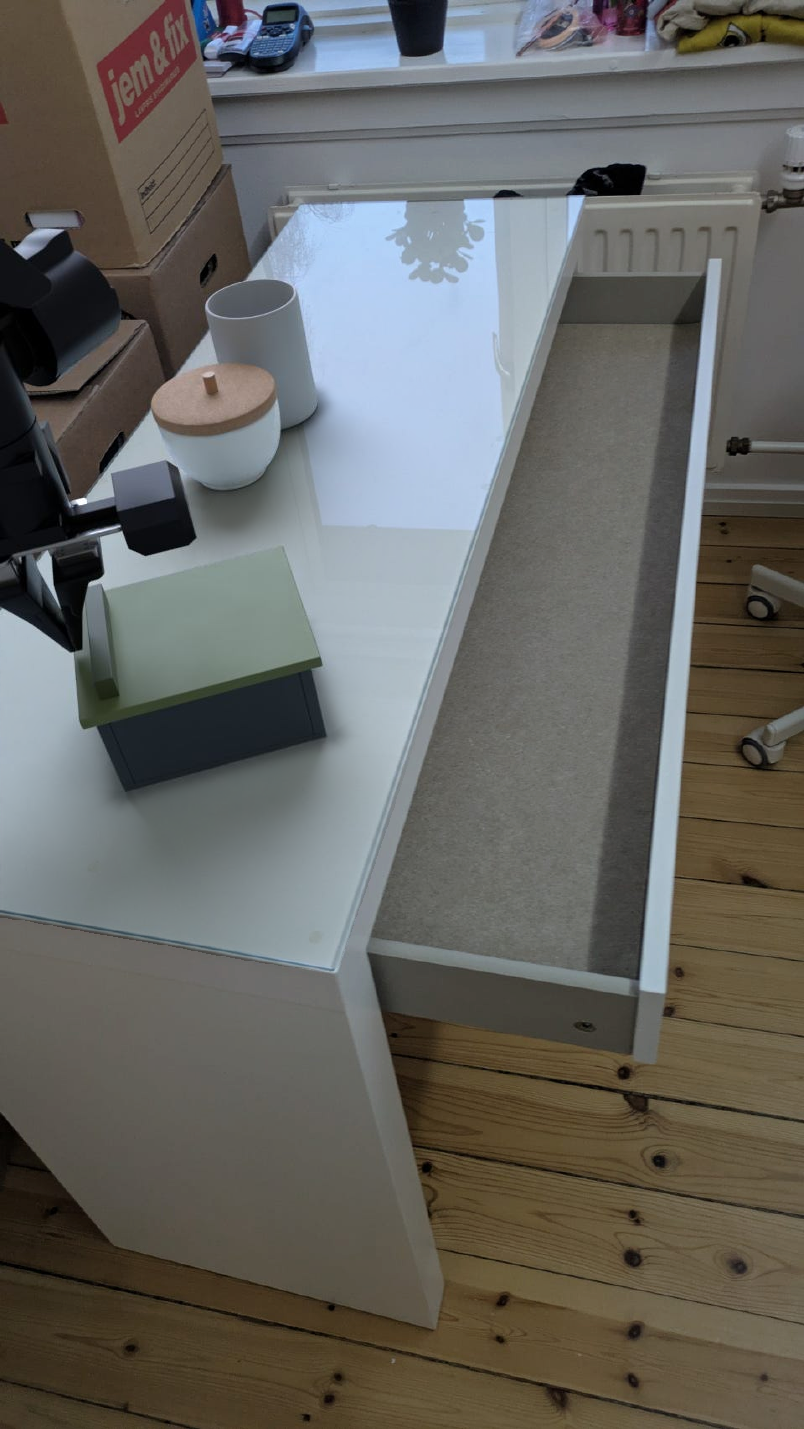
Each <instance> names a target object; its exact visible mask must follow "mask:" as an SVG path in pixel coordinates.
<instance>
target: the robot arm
mask: <svg viewBox="0 0 804 1429" xmlns="http://www.w3.org/2000/svg"><path fill="white" fill-rule="evenodd" d="M121 322H122V309H121V304H120V299H119V295H118V293H117V290H116V289H115V288H114V287H113V286H111V285H110V283H109V281H108V279H107V278H106V276H105V275H104V274H103V272H102V271H101V270H100V269H99V267H97V265H96V264H95V263H93V262H92V260H90V259H89V258H88V257H87V256H85V255H83V254H82V253H80V252H79V251H77V250H75V248H74V246H73V242H72V240H71V237H70V233H69V231H68V230H66V229H61V228H48V227H47V228H45V227H37V228H35V229H34V230H33V231H32V232H30V233H28V234H26V236H25V237H24V238H23V239H22V240H21V242H20V243H19V244H18V245H17V246H16V247H14V248H13V247H11V245H9V244H8V243H7V242H5V240H3V239H2V238H1V237H0V608H1V609H3V610H5V611H6V612H9V613H10V614H12V615H14V616H16V617H18V618H20V619H21V620H23V621H25V622H26V623H28V624H30V625H32V626H33V627H35V628H36V629H37V630H38V631H40V632H41V633H43V634H44V635H45V636H47V637H48V638H49V639H51V640H52V641H54V642H55V643H56V644H57V645H59V646H60V647H62V648H63V649H64V650H65V651H67V652H68V653H70V654H72V653H74V652H76V651H80V650H83V607H84V602H85V598H86V593H87V589H88V587H89V584H90V583H91V582H94V581H98V580H100V579H102V578H103V577H104V576H105V565H104V557H103V556H104V555H103V549H102V548H103V547H102V542H101V538H102V537H106V536H109V535H114V534H118V533H121V532H122V535H123V538H124V541H125V543H126V547H127V549H128V550H130V551H132V552H134V553H137V554H139V555H141V556H143V557H149V556H153V555H156V554H160V553H164V552H168V551H172V550H176V549H181V548H184V547H188V546H190V545H191V544H192V543H193V542H194V541H195V540H196V539H198V537H197V533H196V529H195V524H194V521H193V516H192V511H191V508H190V504H189V500H188V496H187V492H186V489H185V486H184V482H183V479H182V476H181V472H180V468H179V467H178V466H177V465H176V464H173V463H172V462H170V461H169V460H167V459H165V460H160V461H157V462H153V463H148V464H144V465H140V466H135V467H131V468H127V469H124V470H119V471H115V472H111V473H110V476H111V477H110V478H111V483H112V489H113V496H110V497H108V498H103V499H99V500H94V501H91V502H88V499H87V498H86V497H82V498H76V499H73V500H70V499H69V498H68V495H71V494H72V486H71V481H70V479H69V476H68V474H67V471H66V468H65V466H64V463H63V460H62V458H61V454H60V453H59V450H58V447H57V444H56V441H55V438H54V435H53V432H52V429H51V426H50V425H51V424H50V422H49V421H48V420H41V421H39V420H38V417H37V415H36V413H35V410H34V407H33V404H32V402H31V398H30V396H29V393H28V391H27V389H26V387H25V384H26V385H29V386H32V387H38V388H43V387H49V386H51V385H53V384H55V383H57V382H58V381H59V380H60V379H61V378H63V377H64V376H66V374H68V373H69V372H70V371H72V370H73V369H74V368H75V367H77V366H78V365H79V364H81V362H83V361H85V359H86V358H88V357H89V356H91V354H93V353H94V352H95V351H96V350H98V349H99V348H101V347H102V346H103V345H104V344H106V343H107V342H108V341H109V340H110V339H111V338H113V337H114V336H115V335H116V333H117V332H118V331H119V327H120V325H121ZM46 551H47V552H48V554H49V557H51V571H52V586H53V588H54V591H55V595H56V598H57V599H56V598H55V596H54V595H53V592H52V590H50V588H49V585H48V584H47V581H46V580H45V578H44V576H43V575H42V573H41V571H40V569H39V567H38V565H37V562H36V560H35V557H34V554H38V553H42V552H46ZM57 601H58V602H57Z"/></svg>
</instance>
